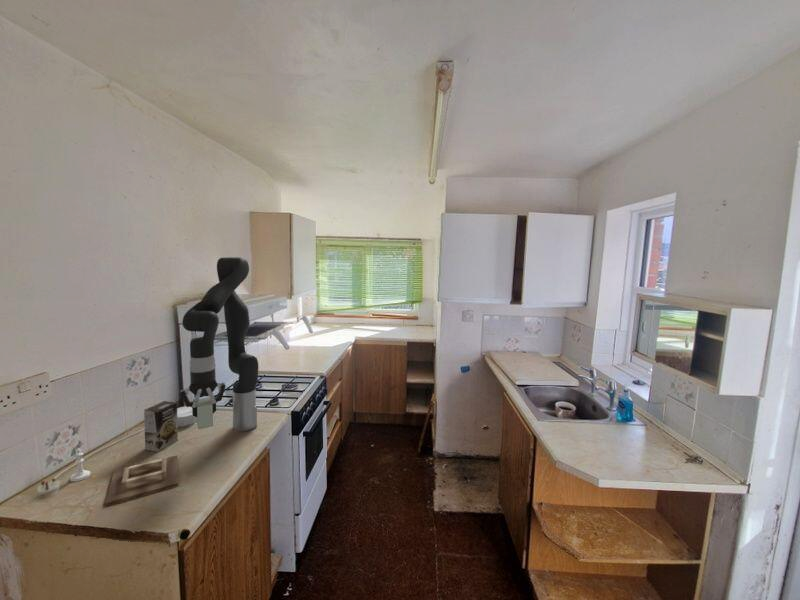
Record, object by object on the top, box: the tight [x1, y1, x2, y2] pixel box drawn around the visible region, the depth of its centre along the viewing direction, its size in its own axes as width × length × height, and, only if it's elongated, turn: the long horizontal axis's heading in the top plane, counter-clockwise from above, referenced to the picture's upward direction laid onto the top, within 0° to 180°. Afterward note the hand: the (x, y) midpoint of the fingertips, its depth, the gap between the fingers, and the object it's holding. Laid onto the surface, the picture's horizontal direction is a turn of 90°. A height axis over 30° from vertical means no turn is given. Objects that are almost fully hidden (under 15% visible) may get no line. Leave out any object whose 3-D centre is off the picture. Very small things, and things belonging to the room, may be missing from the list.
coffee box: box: [143, 400, 179, 453], centre depth 131 cm, size 9×6×16 cm
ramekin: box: [177, 405, 197, 428], centre depth 150 cm, size 11×11×5 cm
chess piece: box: [69, 447, 91, 482], centre depth 110 cm, size 5×5×10 cm
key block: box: [196, 396, 214, 430], centre depth 117 cm, size 4×7×8 cm, turn 35°
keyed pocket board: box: [105, 454, 179, 507], centre depth 111 cm, size 18×18×4 cm
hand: (204, 414), depth 117 cm, fingers closed on key block, 4 cm apart
